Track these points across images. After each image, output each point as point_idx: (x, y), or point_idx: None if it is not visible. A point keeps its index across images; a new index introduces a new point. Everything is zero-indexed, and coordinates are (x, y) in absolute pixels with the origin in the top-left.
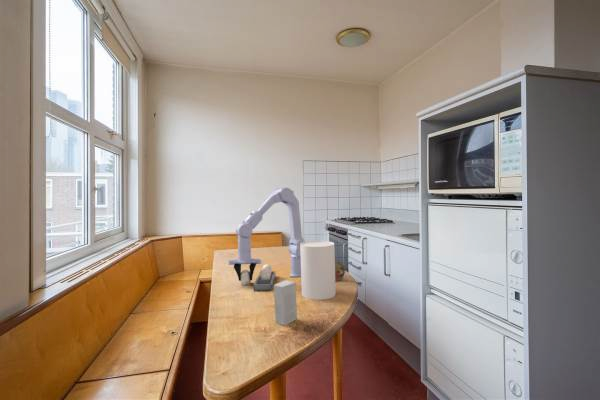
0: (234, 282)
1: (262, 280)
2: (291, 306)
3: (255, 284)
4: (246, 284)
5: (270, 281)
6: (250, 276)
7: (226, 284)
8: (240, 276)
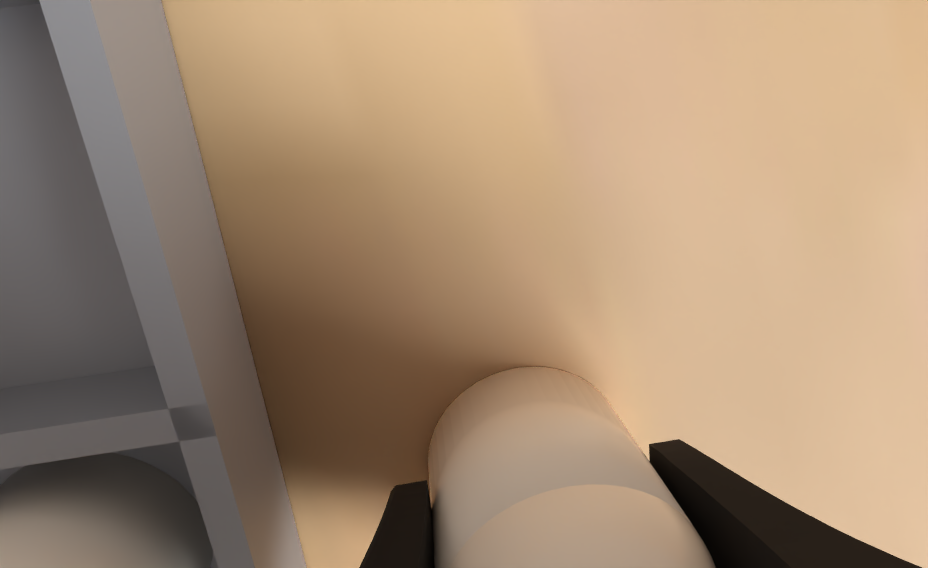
0: None
1: (28, 422)
2: None
3: (48, 13)
4: (485, 382)
5: None
6: (404, 537)
7: (893, 384)
8: None
